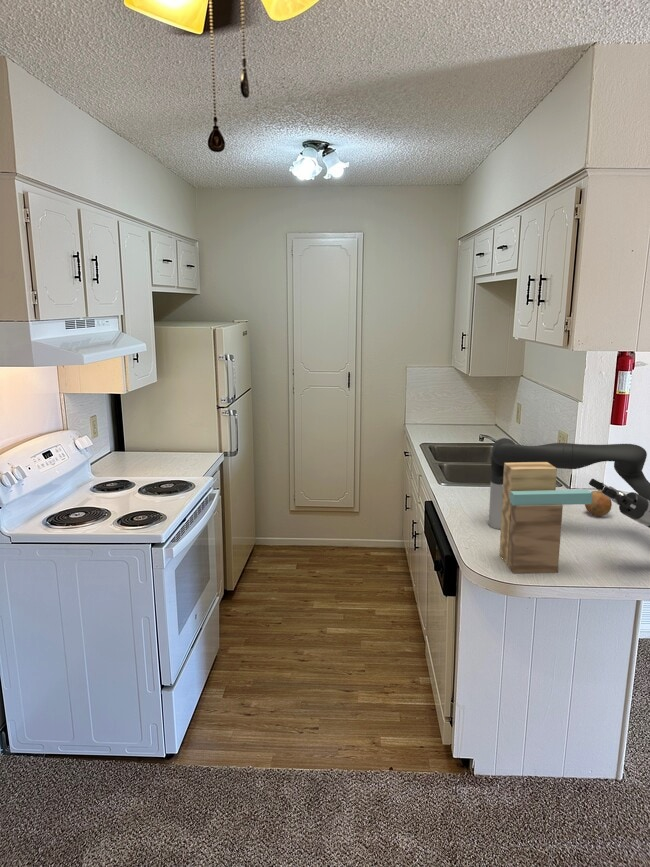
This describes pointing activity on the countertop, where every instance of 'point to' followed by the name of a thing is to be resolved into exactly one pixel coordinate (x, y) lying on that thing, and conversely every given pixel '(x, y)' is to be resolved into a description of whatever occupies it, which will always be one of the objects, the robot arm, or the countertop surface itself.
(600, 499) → the onion
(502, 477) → the robot arm
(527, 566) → the step
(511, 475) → the stand
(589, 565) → the countertop surface
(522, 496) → the rail
